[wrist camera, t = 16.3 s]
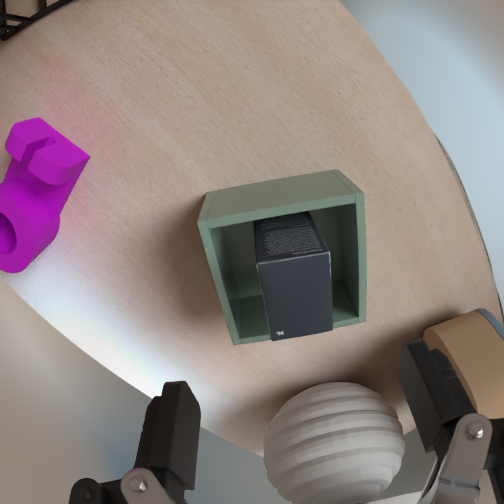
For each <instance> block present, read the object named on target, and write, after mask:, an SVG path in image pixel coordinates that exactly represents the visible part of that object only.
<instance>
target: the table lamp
mask: <svg viewBox="0 0 504 504" xmlns="http://www.w3.org/2000/svg"><path fill="white" fill-rule="evenodd" d="M404 451H405V441H404V439H403V429H402V425H401V423H400V422H399V421H398V416H397V413H396V411H395V410H394V409H393V408H392V407H391V406H390V405H389V404H388V403H387V402H386V400H385V399H384V398H383V397H382V396H381V395H380V394H379V393H377V392H375V391H373V390H370V389H368V388H366V387H365V386H363V385H360V384H356V383H349V382H329V383H323V384H319V385H315V386H313V387H310V388H308V389H306V390H304V391H302V392H301V393H299V394H297V395H295V396H294V397H292V398H291V399H289V400H288V401H287V402H286V403H285V404H284V405H283V406H282V407H281V409H280V410H279V412H278V413H277V414H276V415H275V416H274V418H273V419H272V421H271V423H270V425H269V429H268V433H267V435H266V438H265V440H264V452H265V454H264V463H265V466H266V469H267V476H268V479H269V482H270V483H271V484H272V485H273V486H274V487H275V488H277V491H278V493H279V494H280V495H281V496H282V497H283V498H284V499H286V500H288V501H291V502H292V503H293V504H417V502H418V500H419V498H420V496H421V494H422V492H423V491H421V492H415V493H411V494H405V495H401V496H397V497H392V498H387V499H383V500H379V501H375V502H370V501H371V500H373V499H374V498H376V496H377V495H378V494H379V493H381V492H383V491H384V490H385V489H386V488H387V487H388V486H389V485H390V483H391V481H392V478H393V477H394V476H395V475H396V474H397V472H398V471H399V469H400V465H401V458H402V457H403V454H404ZM368 502H370V503H368Z"/></svg>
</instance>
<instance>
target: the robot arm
mask: <svg viewBox="0 0 504 504" xmlns="http://www.w3.org/2000/svg"><path fill="white" fill-rule="evenodd" d="M398 377H399V382H400V385H401V387H402V390H403V392H404V395H405V397H406V400H407V402H408V405H409V408H410V410H411V413H412V415H413V418H414V421H415V424H416V426H417V429H418V432H419V434H420V437H421V440H422V443H423V446H424V449H425V452H426V453H428V452H431V451H433V450H435V452H436V455H437V458H436V460H435V463H434V466H433V469H432V471H431V473H430V475H429V478H428V480H427V483H426V485H425V487H424V489H423V492H422V494H421V496H420V498H419V500H418V502H417V504H477V502H478V499H479V495H480V488H479V487H478V485H479V480H480V477H481V474H482V471H483V470H484V469H485V470H486V469H487V471H488V474H489V477H490V480H491V484H492V487H493V491H494V494H495V498H496V502H497V504H504V418H498V419H489V418H487V417H486V416H484V415H482V414H479V413H478V412H477V411H476V410H475V408H474V407H473V405H472V403H471V401H470V399H469V397H468V395H467V393H466V391H465V389H464V387H463V385H462V383H461V381H460V379H459V378H458V377H457V374H456V372H455V370H454V369H453V366H452V365H451V363H450V361H449V359H448V357H447V356H446V355H445V354H443V353H442V352H441V351H440V350H438V349H437V348H435V349H432V350H429V348H428V346H427V344H426V342H425V341H424V340H423V339H422V338H420V339H416V340H413V341H409V342H406V343H403V344H402V348H401V354H400V360H399V366H398ZM200 420H201V411H200V406H199V403H198V401H197V400H196V398H195V396H194V394H193V393H192V391H191V389H190V387H189V386H188V384H187V382H186V381H175V382H166V383H165V384H164V386H163V390H162V395H161V396H155V397H154V398H153V400H152V401H151V403H150V404H149V405H148V407H147V411H146V415H145V421H144V425H143V431H142V433H141V438H140V442H139V447H138V452H137V457H136V461H135V465H134V467H133V469H132V470H130V471H128V472H127V473H126V474H125V475H124V476H123V478H122V479H119V480H115V481H110V482H105V483H98V482H96V481H95V480H93V479H90V478H83V479H80V480H78V481H77V482H76V483H75V484H74V485H73V487H72V490H71V494H70V499H69V504H187V502H186V501H185V499H184V491H185V490H194V485H195V473H196V462H197V451H198V440H199V430H200Z"/></svg>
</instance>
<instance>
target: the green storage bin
mask: <svg viewBox="0 0 504 504" xmlns="http://www.w3.org/2000/svg"><path fill="white" fill-rule="evenodd" d="M304 211H309V213H310V215H311V217H312V219H313V221H314V223H315V225H316V227H317V229H318V231H319V232H320V234H321V236H322V238H323V240H324V242H325V244H326V246H327V248H328V250H329V252H330V263H331V282H332V309H333V328H338V327H343V326H348V325H352V324H357V323H361V322H365V321H366V292H367V261H366V223H365V203H364V192H363V191H362V190H360V189H359V188H358V187H357V186H356V185H355V184H354V183H353V182H352V181H351V180H350V179H348V178H347V177H346V176H345V175H344V174H343V173H342V172H341V171H340V170H331V171H325V172H318V173H312V174H306V175H299V176H293V177H287V178H282V179H276V180H270V181H265V182H259V183H254V184H248V185H243V186H238V187H233V188H228V189H223V190H218V191H213V192H208V193H207V194H206V197H205V200H204V203H203V206H202V209H201V212H200V214H199V217H198V220H197V225H198V229H199V232H200V236H201V239H202V243H203V246H204V250H205V253H206V257H207V260H208V264H209V267H210V270H211V274H212V277H213V281H214V284H215V287H216V291H217V294H218V297H219V300H220V304H221V307H222V310H223V313H224V317H225V320H226V323H227V326H228V329H229V333H230V336H231V339H232V342H233V345H240V344H247V343H254V342H260V341H267V340H271V339H270V333H269V327H268V321H267V315H266V310H265V304H264V299H263V294H262V289H261V284H260V280H259V275H258V271H257V268H256V253H255V239H254V225H253V220H259V219H264V218H270V217H275V216H281V215H286V214H292V213H298V212H304Z"/></svg>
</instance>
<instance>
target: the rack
mask: <svg viewBox="0 0 504 504" xmlns="http://www.w3.org/2000/svg"><path fill="white" fill-rule="evenodd" d="M71 1H72V0H59V1H57V2H55V3H53V4H52V5H50V6H48V7H47V3H46V0H39V9H40V11H39V12H38V13H36V14H34V15H33V16H31V17H30V18H28V17H23V16H18V15H12V14H6V8H5V0H0V39H1V41H5V40H7V39H8V38H10V37H11V36H13V35H14V34H16V33H17V32H19V31H20V30H22V29H23V28H25V27H26V26H28V25H30V24H31V23H33V22H35V21H36V20H38V19H40V18H41V17H43V16H45V15H46V14H48V13H50V12H52V11H54V10H55V9H57V8H59V7H61V6H63V5H65V4H67V3H69V2H71ZM6 20H12V21H18V22H22V23H20V24H19V25H17V26H12V25H7V23H6ZM7 30H8V32H7Z"/></svg>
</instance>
